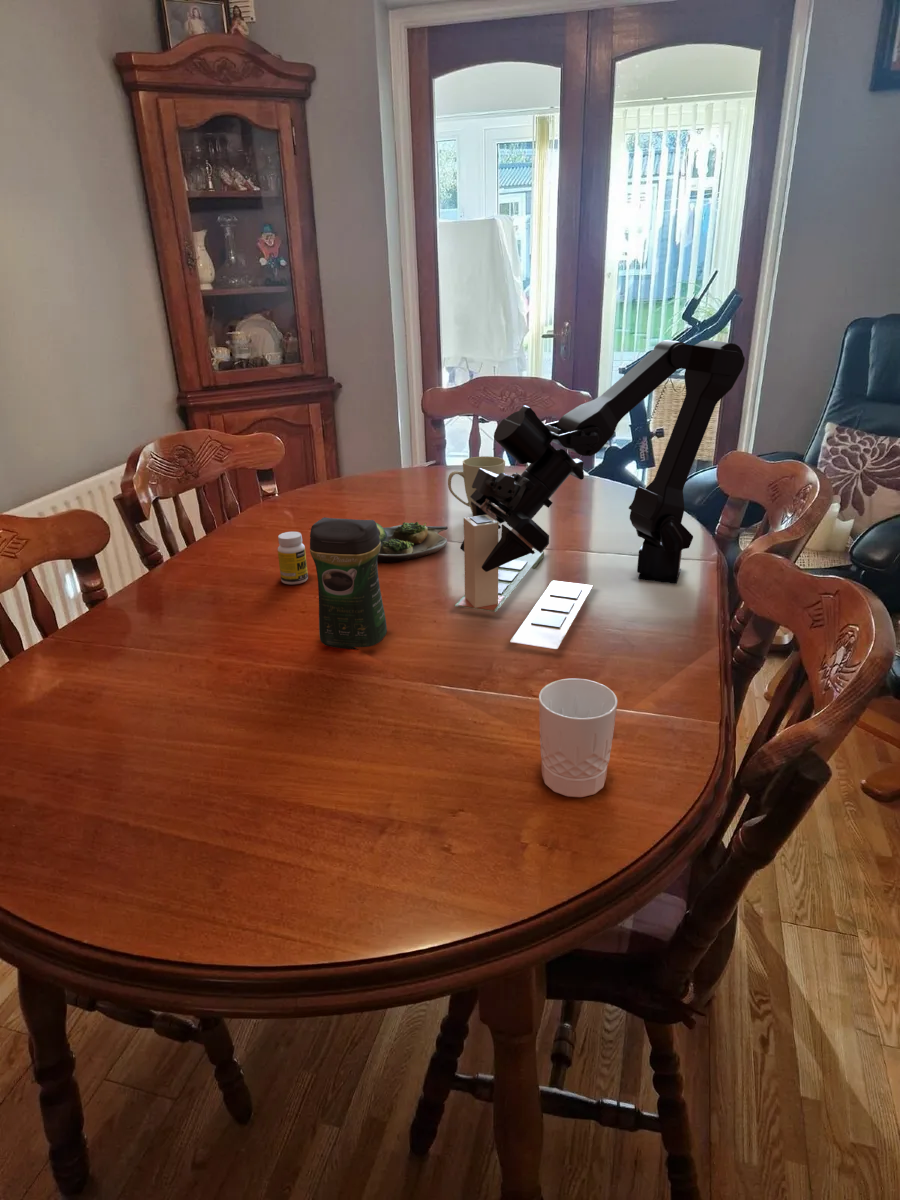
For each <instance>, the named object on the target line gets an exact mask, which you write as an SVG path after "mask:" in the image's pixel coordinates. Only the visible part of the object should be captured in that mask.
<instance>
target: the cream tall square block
mask: <svg viewBox="0 0 900 1200" xmlns="http://www.w3.org/2000/svg"><path fill="white" fill-rule="evenodd" d="M498 525H499V522H498V521H497V520H494V519H493V518H491V517H490V516H489V515H480V516H473V515H472V516H466V517H465V516H464V517H463V540H464V551H463V560H464V561H463V563H464V565H463V566H464V595H465V598H466V599H467V600H468V601H469V602H470V603H471V604H472V605H473V606H474V607H475V608H477V607H483V606H489V605H495V604H498V567H497V568H494V569H492V570H490V571H488V572H485V571H484V570H483V569H482V565H483V564H484V562H485V560H486V559H487V557H488V556H489V555H490V553H491V552H492V550H493V549H494V547H495V546H496V545H497V543H498V542H499V529H498Z"/></svg>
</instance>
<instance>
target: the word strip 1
mask: <svg viewBox="0 0 900 1200" xmlns="http://www.w3.org/2000/svg"><path fill="white" fill-rule="evenodd" d="M532 550H533V551H534V552H535V553H534V554H528V555H525V556H522V557H520V558H517V559H515V560H512V561H510V562H508V563H505V564H503V565H501V566H499V567H498V604H495V605H489V606H483V607H477V608H475V607H474V606H473V605H472V604H471V603H470V602H469V601H468V600H467V599H466V598H465V594H463V596H462V597H460V599H459V600H458V601H457V603H456V604H455V605H454V607H458V608H459V607H460V608H467V609H471V610H472V609H474V610H479V611H480V610H481V611H487V612H493V613H497V612H498V611H499V609H500V608H501V607H502V605H503V604H504V603H505V602H506V601H507V599H508V598H509V597H510V596H511V594H512V593H513V592H514V590H515V589H516V588H517V587H518V586H519V584H520V583H521V581H522V580H523V579H524V578H525V577H526V575H527V574H528V573H529V571H530V570H531V569H532V570H534V569H536V567H537V566H538V565H539V563H540V562H541V561H542V560H543V558H544V557H545V551H544V550H543V551H542V553H540V552H538V551H537V550H536V549H532Z"/></svg>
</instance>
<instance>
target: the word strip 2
mask: <svg viewBox="0 0 900 1200" xmlns="http://www.w3.org/2000/svg"><path fill="white" fill-rule="evenodd" d="M593 588H594V585H593V584H584V583H578V582H568V581H562V580H554V579H553V580H551V582H549V585H548V586H547V587H546V589H545V590H544V591H543V593H542V595H541V596H540V598H539V599H538V600H537V601H536V603H535V605H533V608H532V609H531V610H530V612H529V613H528V615H527V616H526V618H525V619H524V620H523V622H522V623H521V625H520V626H519V628H518V629H517V630H516V632H515V633H514V635H513V636H512V637H511V639H510V641H509V643H511V644H518V645H524V646H531V647H538V648H543V649H550V650H556V651H557V650H558V649H559V648H560V646H561V644H562V642H563V640H564V639H565V637H566V635H567V633H568V631H569V629H570V628H571V626H572V624H573V623H574V621H575V619H576V617H577V615H578V614H579V612H580V611H581V608H582V607H583V605H584V603H585V601H586V599H587V598H588V597H589V594H590V592H591V590H592V589H593Z"/></svg>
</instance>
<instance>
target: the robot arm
mask: <svg viewBox="0 0 900 1200" xmlns="http://www.w3.org/2000/svg"><path fill="white" fill-rule="evenodd" d="M745 362H746V357H745V355H744V352H743V349H742V348H741V346H739V345H738V344H736V343H732V342H725V341H718V340H710V339H705V340H701V341H700V342H698V343H696V344H694V345H693V344H687V343H685V342H683V341H677V340H670V339H665V340H664V339H663V340H661V341H659V342H658V343H656V345H655V346H654V347H653V349H652V350H651V351H650V352H649V353H648V354H646V356H644V357H643V358H642V359H641V360H639V362H638V363H636V365H634V366H633V367H631V368H630V370H628V371H627V372H626V373H625V374H624V375H623V376H621V377H620V378H619V379H618V380H617V381H616V382H614V383H613V384H612V385H611V386H610V387H609V388H608V389H607V390H606V391H604V392H603V393H602V394H601V395H599V396H598V397H596V398H594V399H593V400H589V401H587V402H585V403H582V404H580V405H577V406H576V407H575V408H573V409H571V410H569V412H568V411H567V413H565V414H564V415H562V416H561V417H560V418H559V420H557V421H552V422H548V423H544V422H543V421H542V420H541V419H540V418H539V417H538V416H537V414H536V411H534V410H533V408H531V407H530V406H528V405H522V406H521V407H520V409H519V410H516V411H515V412H513V413H510V415H508V416H507V417H505V418H503V419H502V420H501V421H500V422H499V424H498V425H497V426H496V428H495V430H494V433H493V439H494V441H495V442H497V444H499V445H500V446H501V447H502V448H503V449H504V450H505V451H506V452H507V453H508V454H509V455H510V456H511V457H512V458H513V459H514V460H515V461H516V462H517V463H518V464H520V465H525V464H529V465H528V466H527V467H526V468H525V470H524V471H523V472H522V473H521V474H520V473H518V472H515V473H512V474H511V475H510V474H506V473H505V472H504V473H500V474H499V475H498V474H495V473H492V472H490V471H487V470H484V469H482V468H479V470H478V472H477V475H476V477H475V480H474V482H473V484H472V488H476V490H475V492H474V493H473V494H472V495H471V496H470V498H472V499H473V500H474V501H475V502H476V503H473V502H472V501H471V505H472V510H473V514H472V517H473V516H480V515H489V516H490V517H491V518H493V519H494V520H495V521H497V522H498V530H500V529H501V533H500V535H501V536H500V539H498V543H497V545H496V546H495V547H494V549H493V550H492V552H491V553H490V555H489V556H488V557H487V559H486V560H485V562H484V564H483V565H482V569H483V570H484V571H485V572H488V571H490V570H492V569H494V568H497V567H499V566H501V565H503V564H505V563H508V562H510V561H512V560H515V559H517V558H520V557H522V556H525V555H528V554H534V553H535V552H534V551H533V550H536V551H538V552H540V553H542V551H544V550H545V549H546V548H547V547H548V546H549V544H550V535H549V533H548V532H546V531H545V530H544V529H543V528H542V527H541V526H540V525H539V524H538V523H537V522H535V521H534V520H533V518H534V517H535V516H536V515H537V514H538V513H539V511H540V510H541V509H542V508H543V507H546V508H548V509H549V508H550V507H551V506H552V504H553V501H552V500H550V499H551V498H552V496H553V495H554V494H555V492H557V490H558V489H559V488H560V487H561V486H562V485H563V483H565V481H566V480H567V479H568V478H569V477H570V475H571V476H572V477H574V478H577V479H579V480H584V478H585V472H584V463H585V462H584V461H582V460H581V459H579V458H573V457H571V455H570V454H569V453H568V452H567V451H566V450H568V451H570V452H573V453H575V454H577V455H580V456H582V457H592V456H594V455H596V454H597V453H599V452H600V451H601V450H602V449H603V448H604V446H606V444H607V443H608V442H609V441H610V439H611V438H612V437H613V436H614V434H615V431H616V429H617V427H618V424H619V423H620V422H621V421H622V419H623V418H624V417H625V416H626V415H627V414H628V413H630V412H631V411H632V410H633V409H634V408H636V407H637V406H638V405H639V404H640V403H641V402H643V401H644V400H645V398H647V397H648V396H649V395H650V394H651V393H653V392H654V391H655V390H656V389H657V388H658V387H660V385H662V384H663V383H664V382H665V381H667V379H669V378H670V377H671V376H672V375H673V374H675V372H677V371H678V370H684V375H683V376H684V385H685V386H684V387H685V396H684V399H683V401H682V404H681V407H680V409H679V412H678V414H677V417H676V420H675V423H674V425H673V428H672V430H671V434H670V436H669V439H668V442H667V444H666V447H665V449H664V453H663V455H662V457H661V460H660V463H659V465H658V468H657V471H656V473H655V476H654V478H653V480H652V481H651V482H650V483H649V484H648V485H647V486H646V487H642V486H638V487H637V488H636V489H635V492H634V496H633V500H632V501H631V504H630V505H629V506H628V509H629V510H630V513H629V521H630V522H631V525H632V527H633V528H634V529H635V531H636V535H637V537H639V538H642V539H643V542H642V545H641V546H640V547H639V550H638V555H637V556H638V557H637V569H636V572H637V573H638V576H637V579H638V580H640V581H648V582H656V583H664V584H672V585H676V584H678V582H679V579H680V575H681V572H682V568H681V563H682V562H681V561H682V551H683V550H686V549H690V546H691V544H692V542H693V539H694V535H693V534H692V533H691V532H690V531H689V530H688V529H687V528H686V527H685V525H683V523H682V522H683V517H684V513H685V499H684V498H685V497H684V488H685V485H686V482H687V481H688V478H689V475H690V473H691V469H692V467H693V464H694V461H695V459H696V457H697V454H698V452H699V449H700V446H701V444H702V441H703V439H704V437H705V433H706V431H707V429H708V426H709V423H710V421H711V419H712V416H713V414H714V410H715V408H716V406H717V404H718V403H719V401H721V400H722V399H723V398H724V397H725V396H726V395H727V394H728V393H729V392H730V391H731V390H732V389H733V388H734V386H735V384H736V382H737V380H738V378H739V377H740V375H741V374H742V371H743V369H744V367H745ZM552 443H553V444H556V445H558V446H561V447H562V448H555V447H554V445H552ZM563 448H565V449H566V450H565V449H563ZM503 523H506V525H507V526H508V527H510V528H511V529H510V528H508V527H507V526H506V525H505V524H503ZM459 548H460V550H461V551H462V552H464V539H463V540H462V542H461V545H460V547H459Z"/></svg>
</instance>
